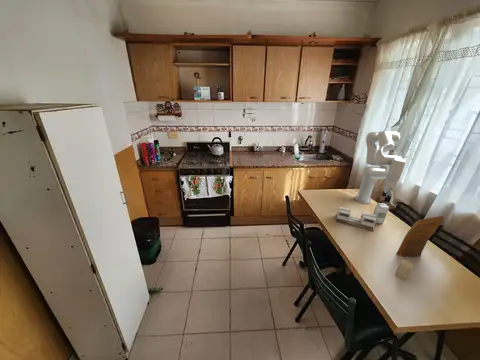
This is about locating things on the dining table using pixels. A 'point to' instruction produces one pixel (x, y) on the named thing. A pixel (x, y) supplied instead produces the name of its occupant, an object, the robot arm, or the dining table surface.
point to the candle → (404, 269)
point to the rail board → (356, 219)
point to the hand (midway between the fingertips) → (385, 199)
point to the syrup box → (380, 212)
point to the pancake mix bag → (418, 237)
